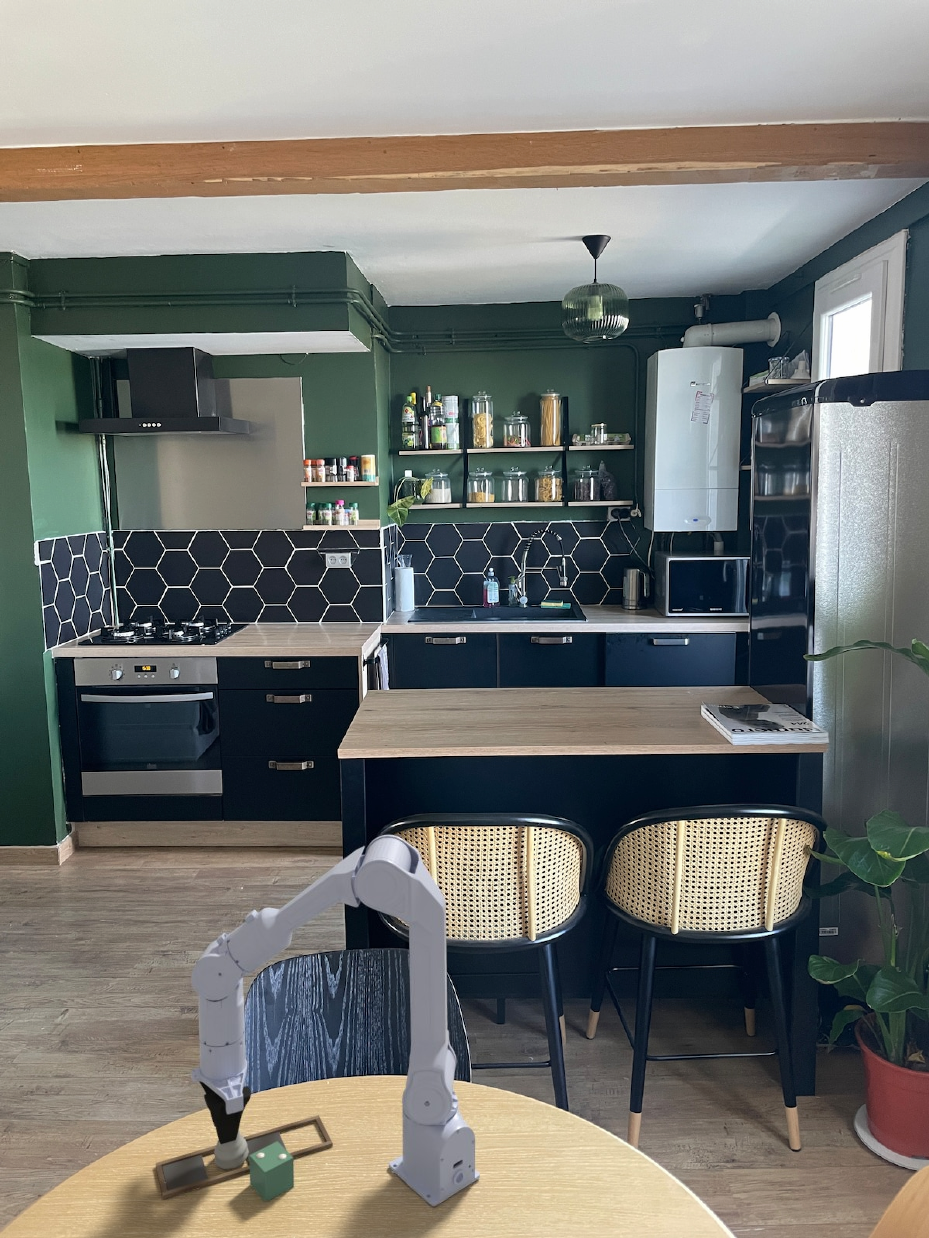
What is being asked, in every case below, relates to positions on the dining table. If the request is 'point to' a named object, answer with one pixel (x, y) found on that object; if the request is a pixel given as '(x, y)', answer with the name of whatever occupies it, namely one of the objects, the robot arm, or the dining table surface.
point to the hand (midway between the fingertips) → (224, 1131)
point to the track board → (192, 1173)
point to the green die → (271, 1171)
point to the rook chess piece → (231, 1153)
